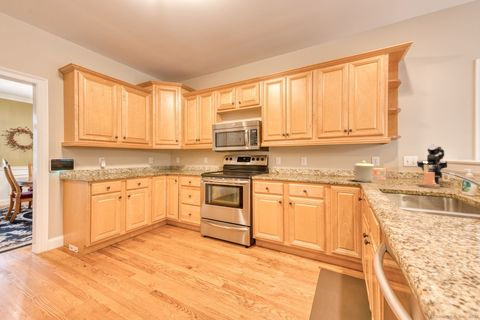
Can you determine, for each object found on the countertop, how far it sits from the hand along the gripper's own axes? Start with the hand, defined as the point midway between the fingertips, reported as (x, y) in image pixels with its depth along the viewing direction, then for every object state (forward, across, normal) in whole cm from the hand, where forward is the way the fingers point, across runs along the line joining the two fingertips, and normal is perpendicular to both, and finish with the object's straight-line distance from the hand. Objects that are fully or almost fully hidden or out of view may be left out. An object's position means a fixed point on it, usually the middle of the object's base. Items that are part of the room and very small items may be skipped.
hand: (430, 171), depth 174 cm
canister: (+14, -49, +4) cm, 51 cm away
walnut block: (+13, 0, +7) cm, 14 cm away
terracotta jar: (+11, 0, +4) cm, 12 cm away
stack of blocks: (-4, -48, +24) cm, 53 cm away
